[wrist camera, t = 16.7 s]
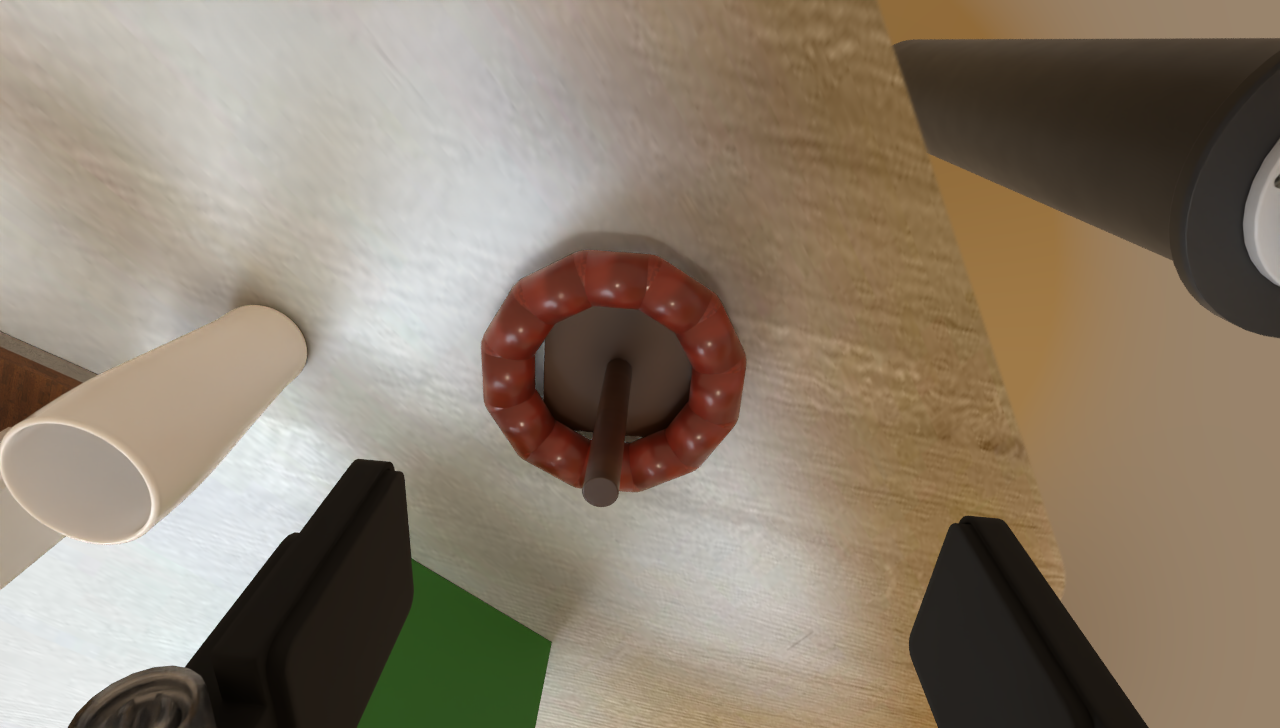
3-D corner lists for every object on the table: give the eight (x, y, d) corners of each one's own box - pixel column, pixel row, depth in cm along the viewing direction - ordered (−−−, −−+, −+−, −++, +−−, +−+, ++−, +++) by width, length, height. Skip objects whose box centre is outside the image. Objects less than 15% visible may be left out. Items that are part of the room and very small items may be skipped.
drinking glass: (232, 269, 40) (7, 387, 26) (338, 327, 41) (177, 468, 28) (200, 355, 42) (-19, 502, 29) (301, 407, 44) (137, 571, 30)
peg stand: (702, 298, 39) (716, 413, 27) (684, 428, 43) (690, 580, 31) (549, 283, 39) (496, 392, 27) (546, 415, 43) (498, 562, 31)
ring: (757, 254, 37) (764, 271, 34) (725, 480, 43) (729, 509, 40) (484, 235, 37) (469, 250, 34) (493, 463, 43) (482, 491, 41)
